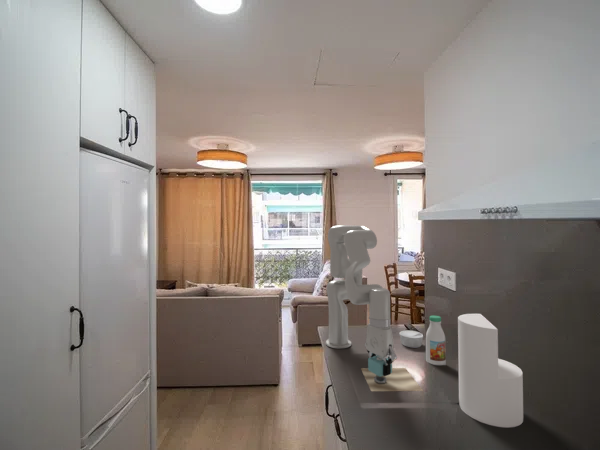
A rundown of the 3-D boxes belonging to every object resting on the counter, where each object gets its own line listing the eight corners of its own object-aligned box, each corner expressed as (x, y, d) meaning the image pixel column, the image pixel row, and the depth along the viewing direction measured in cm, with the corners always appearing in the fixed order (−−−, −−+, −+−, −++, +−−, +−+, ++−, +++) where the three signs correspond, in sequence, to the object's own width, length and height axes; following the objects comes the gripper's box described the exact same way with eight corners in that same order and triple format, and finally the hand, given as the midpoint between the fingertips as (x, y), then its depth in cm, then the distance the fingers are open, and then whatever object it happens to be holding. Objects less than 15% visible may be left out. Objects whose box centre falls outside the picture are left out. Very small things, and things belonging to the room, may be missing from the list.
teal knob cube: (379, 376, 112) (379, 362, 112) (368, 370, 117) (368, 356, 117) (392, 372, 115) (391, 358, 115) (380, 366, 120) (380, 353, 120)
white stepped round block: (466, 422, 93) (464, 327, 94) (454, 392, 110) (453, 312, 110) (533, 431, 89) (532, 331, 89) (510, 399, 105) (509, 315, 106)
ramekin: (424, 349, 149) (424, 338, 149) (399, 347, 153) (399, 336, 153) (422, 341, 160) (422, 331, 160) (399, 339, 163) (399, 329, 163)
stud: (372, 378, 118) (372, 363, 118) (384, 378, 118) (384, 363, 118) (375, 384, 114) (375, 368, 114) (388, 384, 114) (387, 368, 114)
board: (360, 371, 127) (360, 368, 127) (405, 370, 127) (405, 367, 127) (371, 394, 109) (371, 391, 109) (423, 394, 109) (423, 390, 109)
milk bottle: (423, 364, 133) (422, 316, 133) (430, 358, 139) (429, 313, 139) (442, 369, 128) (441, 320, 128) (448, 363, 134) (447, 316, 134)
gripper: (356, 318, 122) (356, 365, 122) (390, 330, 107) (390, 383, 107) (370, 315, 126) (371, 360, 126) (405, 326, 111) (405, 378, 111)
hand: (380, 370), depth 116 cm, fingers closed on teal knob cube, 6 cm apart
